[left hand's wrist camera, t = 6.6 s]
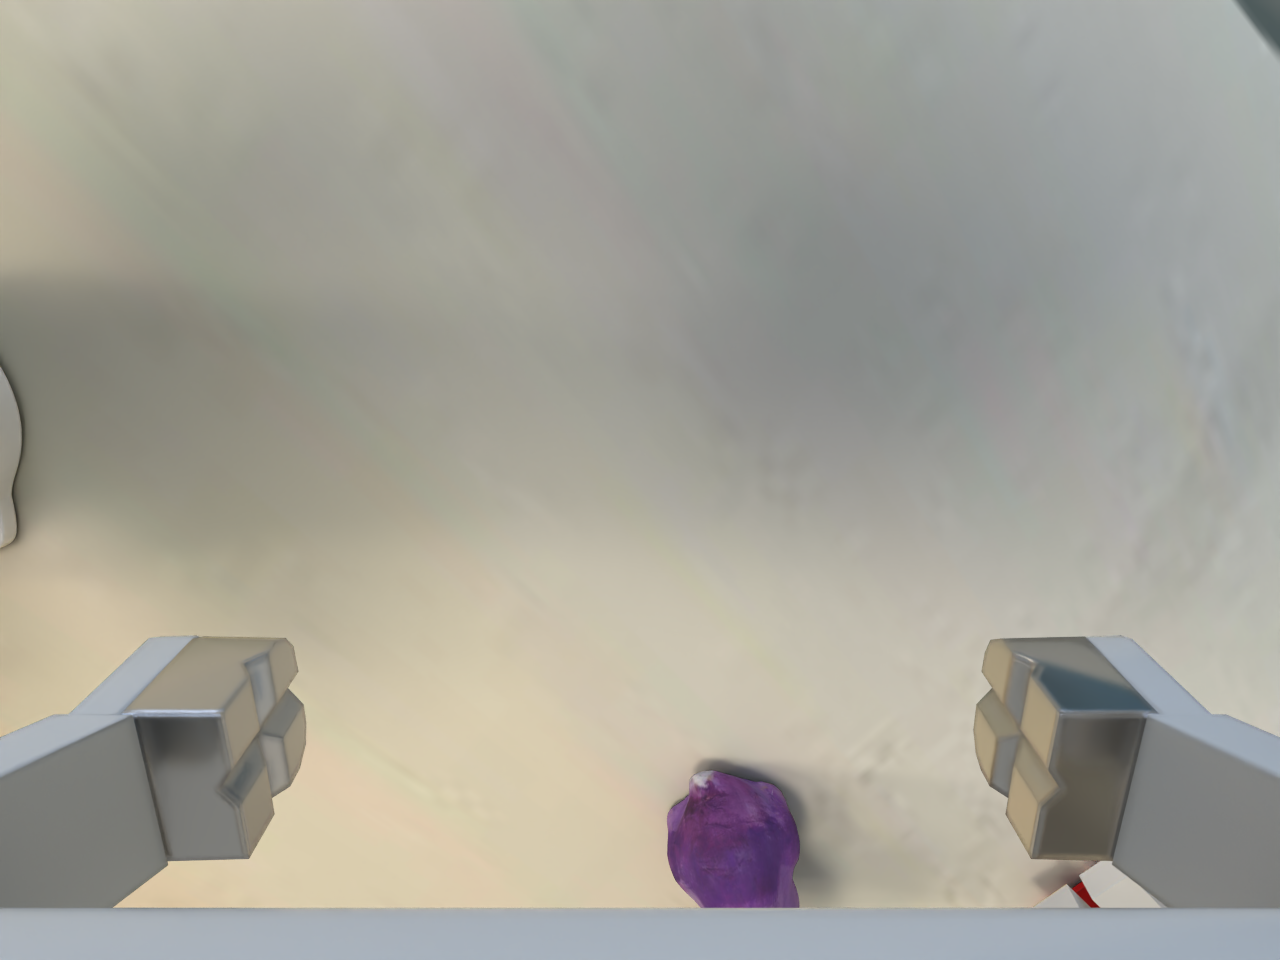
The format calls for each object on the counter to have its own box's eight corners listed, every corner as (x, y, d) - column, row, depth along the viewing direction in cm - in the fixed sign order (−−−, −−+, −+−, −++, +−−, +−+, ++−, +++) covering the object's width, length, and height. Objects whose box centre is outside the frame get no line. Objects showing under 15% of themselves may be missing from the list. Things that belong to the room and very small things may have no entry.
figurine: (786, 896, 59) (832, 1124, 45) (645, 860, 58) (646, 1081, 44) (839, 789, 56) (905, 998, 42) (691, 749, 55) (708, 949, 41)
